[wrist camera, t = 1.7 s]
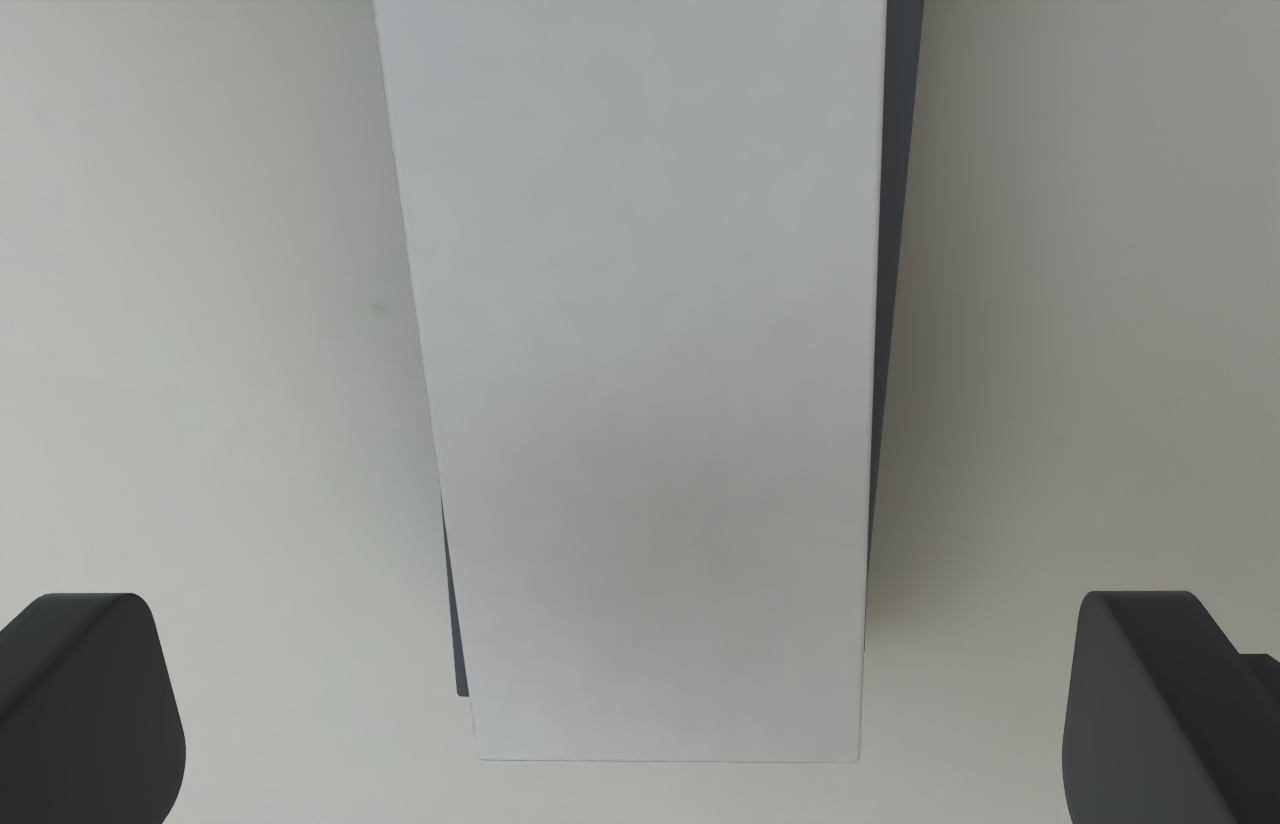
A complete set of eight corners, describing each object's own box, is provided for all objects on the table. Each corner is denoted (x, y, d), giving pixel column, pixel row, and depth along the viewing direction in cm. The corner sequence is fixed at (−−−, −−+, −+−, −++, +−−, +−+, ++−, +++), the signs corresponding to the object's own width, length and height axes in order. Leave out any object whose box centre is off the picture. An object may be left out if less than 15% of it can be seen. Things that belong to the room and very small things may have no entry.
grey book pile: (401, -104, 17) (337, -116, 14) (901, -136, 16) (938, -154, 13) (491, 618, 22) (459, 714, 19) (872, 617, 21) (894, 716, 18)
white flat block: (407, -62, 14) (360, -66, 12) (869, -91, 14) (892, -98, 12) (501, 683, 19) (477, 762, 17) (846, 684, 18) (860, 765, 16)
